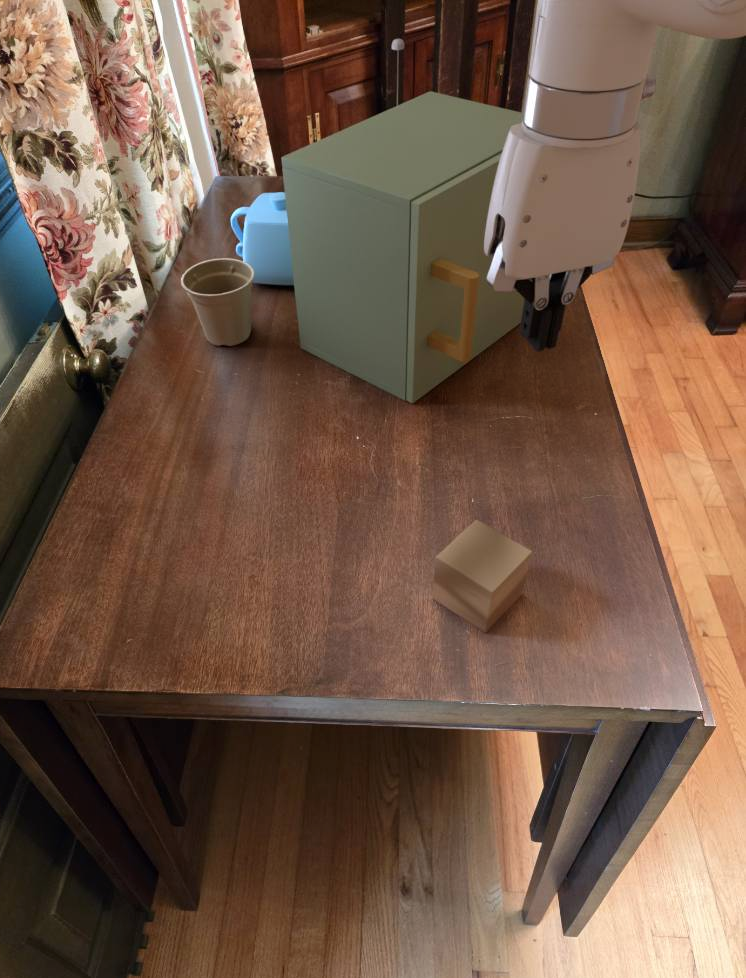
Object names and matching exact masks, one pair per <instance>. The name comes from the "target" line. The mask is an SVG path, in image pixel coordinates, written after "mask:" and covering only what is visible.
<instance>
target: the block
mask: <svg viewBox="0 0 746 978" xmlns="http://www.w3.org/2000/svg"><path fill="white" fill-rule="evenodd" d="M532 554H533V551H532V549H531V550H530V549H529V548H527V547H525V546H524V545H522V544H520V543H519V542H517V541H515V540H514V539H512V538H510V537H508V536H506V535H505V534H503V533H501V532H499V531H498V530H496V529H494V528H493V527H491V526H489V525H487V524H485V523H484V522H482V521H480V520H478V519H475V520H474V521H472V523H470V524H469V526H467V527H466V528H465V529H464V530H463V531H462V532H460V534H458V536H456V537H455V538H454V539H453V540H452V541H451V542H450V543H449V544H448V545H447V546H446V547H445V548H444V549H443V550H442V551H440V552H439V553H438V554H437V555H436V556H435V562H434V572H433V573H434V574H433V586H432V600H434V601H435V602H437V603H439V604H440V605H441V606H443V607H444V608H446V609H448V610H449V611H451V612H452V613H454V614H455V615H457V616H458V617H460V618H462V620H464V621H466V622H467V623H469V624H470V625H472V626H474V627H475V628H476V629H478V630H479V631H481V632H483V633H484V634H486V633H488V631H489V630H490V629H491V628H492V627H493V626H494V625H495V624H496V623H497V622H498V620H500V619H501V617H502V616H503V615H504V614H505V613H506V612H507V611H508V610H509V609H510V608H511V606H513V604H515V602H516V601H517V600H518V599H519V598H520V597H521V596H522V595H523V593H524V590H525V585H526V581H527V576H528V573H529V572H528V571H529V567H530V564H531V559H532V556H533V555H532Z"/></svg>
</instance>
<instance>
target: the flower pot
mask: <svg viewBox="0 0 746 978" xmlns="http://www.w3.org/2000/svg"><path fill="white" fill-rule="evenodd" d="M253 279H254V270H253V268H252V267H251V266H250V265H249V264H247V263H245V262H243V260H241V259H236V258H227V257H224V258H223V257H222V258H221V257H220V258H212V259H208V260H204V261H201V262H198V263H196V264H194V265H192V266H191V267H188V268H187V270H185V272H184V273H183V274H182V275H181V278H180V284H181V287H182V289H183V290H184V291H185V292H186V294H187V296H188V298H190V300H191V302H192V304H193V307H194V309H195V312H196V315H197V317H198V320H199V322H200V325H201V328H202V331H203V333H204V336H205V339H206V340H207V341H208V342H209V343H210V344H212V345H215V346H218V347H220V346H228V347H232V346H236V345H239V344H241V343H244V342H245V341H246V340H247V339H248V338H249V337H250V334H251V332H252V323H251V322H252V321H251V319H252V316H251V290H252V289H253V282H252V281H253Z"/></svg>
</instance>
